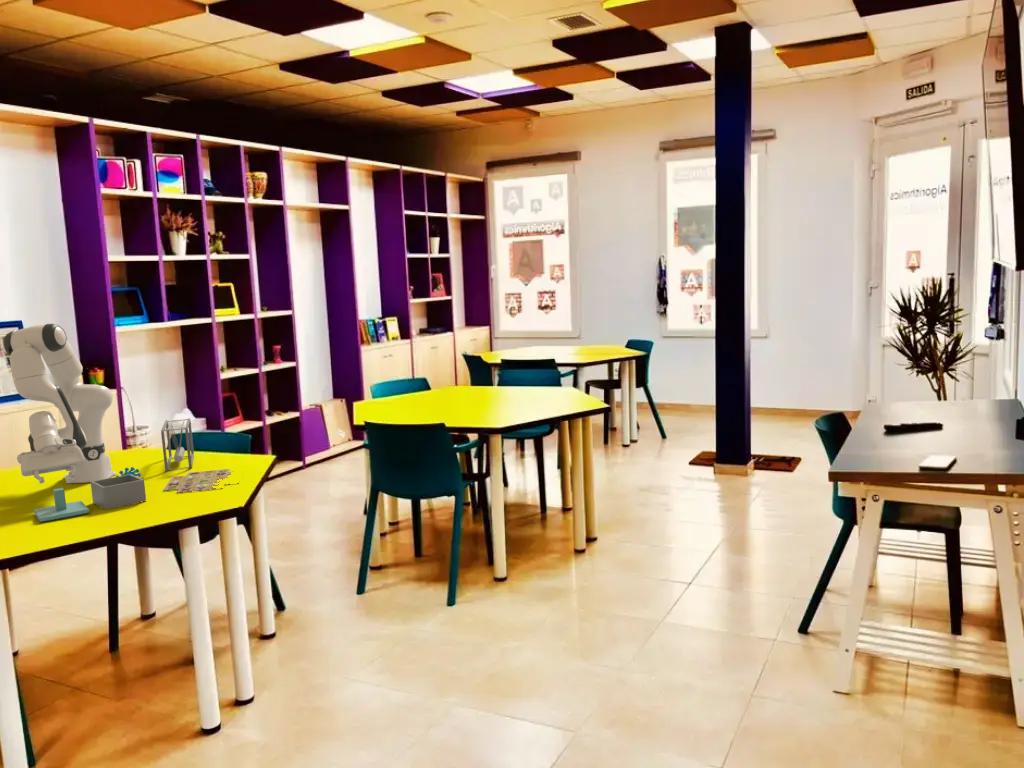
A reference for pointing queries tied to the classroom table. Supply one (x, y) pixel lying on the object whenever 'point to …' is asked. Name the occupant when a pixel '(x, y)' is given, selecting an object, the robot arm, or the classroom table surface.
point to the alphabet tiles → (196, 481)
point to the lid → (60, 508)
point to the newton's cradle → (180, 450)
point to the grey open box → (118, 491)
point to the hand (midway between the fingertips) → (57, 479)
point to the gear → (130, 472)
